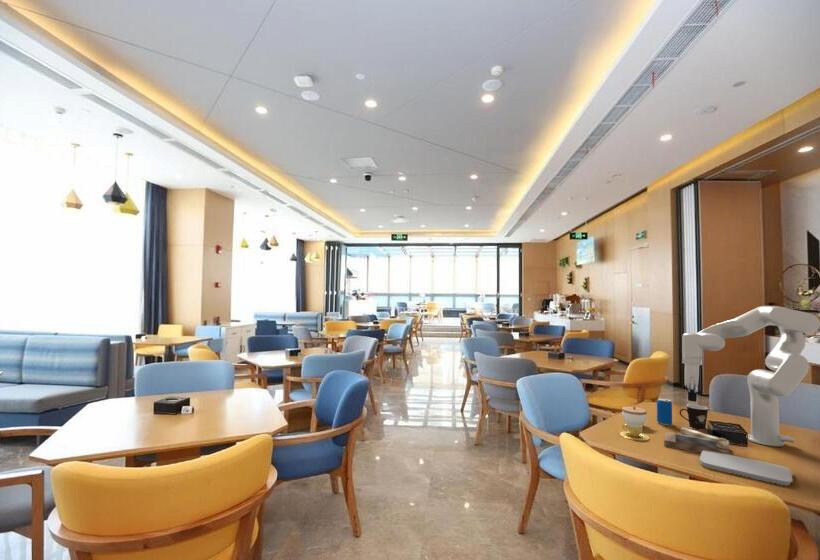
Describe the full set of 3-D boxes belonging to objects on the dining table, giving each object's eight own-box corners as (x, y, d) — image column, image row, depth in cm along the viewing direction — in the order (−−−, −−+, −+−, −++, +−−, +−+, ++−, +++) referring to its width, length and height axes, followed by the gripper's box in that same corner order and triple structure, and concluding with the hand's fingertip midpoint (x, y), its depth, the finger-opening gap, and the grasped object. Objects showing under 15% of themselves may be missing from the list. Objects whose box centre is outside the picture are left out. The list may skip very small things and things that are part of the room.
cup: (652, 436, 185) (652, 424, 185) (645, 443, 176) (645, 431, 176) (623, 430, 193) (623, 418, 193) (616, 436, 184) (616, 424, 184)
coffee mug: (707, 426, 199) (707, 406, 199) (709, 431, 191) (708, 410, 192) (679, 422, 205) (678, 402, 205) (679, 427, 198) (679, 406, 198)
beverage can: (674, 426, 199) (674, 401, 199) (660, 425, 200) (659, 400, 201) (668, 422, 205) (668, 398, 206) (654, 421, 206) (654, 397, 207)
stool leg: (729, 448, 163) (728, 439, 163) (724, 449, 162) (724, 440, 162) (684, 434, 179) (684, 426, 179) (680, 435, 178) (680, 427, 178)
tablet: (702, 454, 165) (702, 449, 165) (790, 473, 148) (789, 467, 148) (698, 467, 152) (698, 461, 152) (793, 489, 135) (793, 483, 135)
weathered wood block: (727, 448, 170) (727, 435, 171) (729, 458, 160) (729, 444, 160) (666, 437, 183) (666, 424, 183) (664, 445, 172) (664, 433, 173)
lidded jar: (621, 426, 198) (621, 406, 198) (622, 420, 207) (622, 402, 208) (646, 430, 193) (646, 410, 193) (647, 424, 202) (646, 405, 202)
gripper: (682, 357, 192) (682, 396, 191) (681, 361, 180) (681, 402, 179) (702, 359, 188) (702, 399, 187) (702, 363, 176) (702, 406, 175)
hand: (692, 400), depth 183 cm, fingers closed
